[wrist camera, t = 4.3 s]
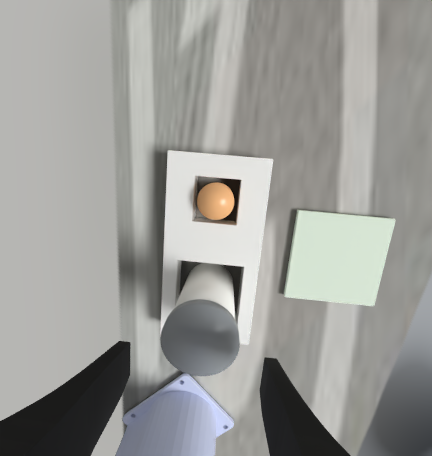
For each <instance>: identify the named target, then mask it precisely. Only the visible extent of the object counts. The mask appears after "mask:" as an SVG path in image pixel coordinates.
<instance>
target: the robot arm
mask: <svg viewBox="0 0 432 456" xmlns="http://www.w3.org/2000/svg"><path fill="white" fill-rule="evenodd" d="M129 376H130V342H124V341H119V342H118V343H116V344H115V345H114V346H112V347H111V348H110V349H109V350H107V352H105V353H104V354H103V355H101V356H100V357H99V358H98V359H96V360H95V361H94V362H93V363H91V364H90V365H89V366H87V367H86V368H85V369H84V370H82V371H81V372H80V373H78V374H77V375H76V376H74V377H73V378H71V379H70V380H69V381H67V382H66V383H65V384H63V385H62V386H60V387H59V388H57V389H56V390H54V391H53V392H51V393H50V394H48V395H46V396H45V397H43V398H41V399H40V400H38V401H36V402H35V403H33V404H31V405H29V406H27V407H26V408H24V409H22V410H20V411H19V412H17V413H15V414H13V415H11V416H10V417H8V418H6V419H4V420H2V421H0V456H91V454H92V452H93V449H94V447H95V445H96V444H97V442H98V440H99V438H100V436H101V434H102V432H103V430H104V428H105V427H106V425H107V423H108V421H109V419H110V417H111V415H112V413H113V411H114V409H115V407H116V406H117V404H118V402H119V400H120V398H121V396H122V393H123V391H124V389H125V386H126V384H127V381H128V378H129ZM181 380H182V381H181ZM260 398H261V409H262V416H263V422H264V427H265V432H266V438H267V443H268V448H269V453H270V456H350V455H349V454H348V453H347V452H346V450H345V449H344V448H343V447H342V446H341V445H340V444H339V443H338V442H337V441H336V440H335V439H334V438H333V437H332V435H331V434H330V433H329V432H328V431H327V430H326V429H325V427H324V426H323V425H322V424H321V423H320V421H319V420H318V419H317V418H316V416H315V415H314V414H313V412H312V411H311V410H310V408H309V407H308V406H307V404H306V403H305V402H304V400H303V399H302V397H301V396H300V394H299V393H298V392H297V390H296V389H295V387H294V386H293V384H292V383H291V381H290V380H289V378H288V376H287V375H286V373H285V372H284V370H283V368H282V367H281V365H280V363H279V362H278V360H277V359H274V358H265V359H264V365H263V372H262V378H261V385H260ZM122 420H123V422H124V423H125V424H126V425H127V428H126V431H125V433H124V436H123V438H122V440H121V443H120V445H119V448H118V450H117V453H116V455H115V456H215V442H216V437H218V436H219V435H221V434H223V433H224V432H226V431H227V430H229V429H231V428H232V427H233V426H234V420H233V419H232V418H231V417H230V416H229V415H228V414H227V413H226V412H225V411H224V410H223V409H222V408H221V407H220V406H219V405H218V404H217V403H216V401H215V400H214V399H213V398H212V397H211V396H210V395H209V394H208V393H207V392H206V391H205V390H204V389H203V388H202V387H201V386H200V385H199V384H198V383H197V382H196V381H195V380H194V379H193V378H192V377H191V376H190V375H189V374H187V373H183V374H182V375H180V376H179V377H177V378H176V379H175V380H173V381H172V382H170V383H169V384H167V385H166V386H164V387H163V388H162V389H160V390H159V391H157V392H156V393H154V394H153V395H152V396H150V397H149V398H147V399H146V400H144V401H143V402H142V403H140V404H139V405H137V406H136V407H134V408H133V409H131V410H130V411H129V412H127V413H126V414H125V415H124V416H123V419H122Z"/></svg>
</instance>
